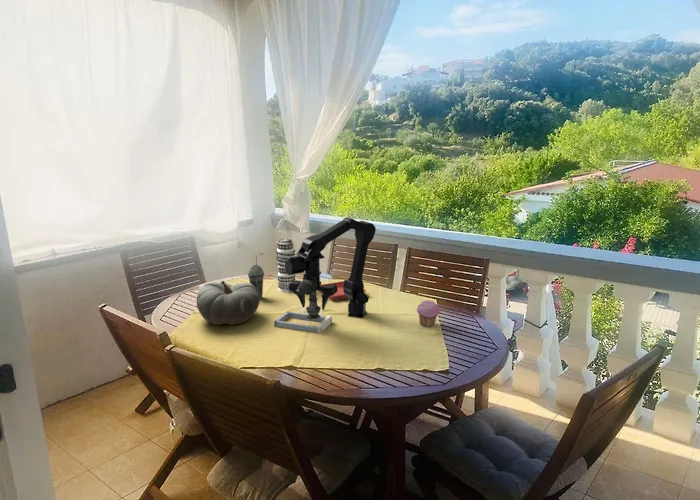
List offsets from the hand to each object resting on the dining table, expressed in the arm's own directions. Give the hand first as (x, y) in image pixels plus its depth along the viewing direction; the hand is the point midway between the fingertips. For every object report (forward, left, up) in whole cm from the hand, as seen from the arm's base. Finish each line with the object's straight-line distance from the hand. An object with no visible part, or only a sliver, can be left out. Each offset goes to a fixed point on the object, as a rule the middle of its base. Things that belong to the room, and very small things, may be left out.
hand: (313, 308), depth 194 cm
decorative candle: (+31, -36, -8) cm, 48 cm away
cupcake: (-42, -16, -8) cm, 46 cm away
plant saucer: (+4, -39, -8) cm, 40 cm away
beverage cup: (+38, -20, -8) cm, 43 cm away
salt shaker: (0, 0, -4) cm, 4 cm away
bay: (+5, 0, -7) cm, 9 cm away
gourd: (+36, +5, -8) cm, 37 cm away
